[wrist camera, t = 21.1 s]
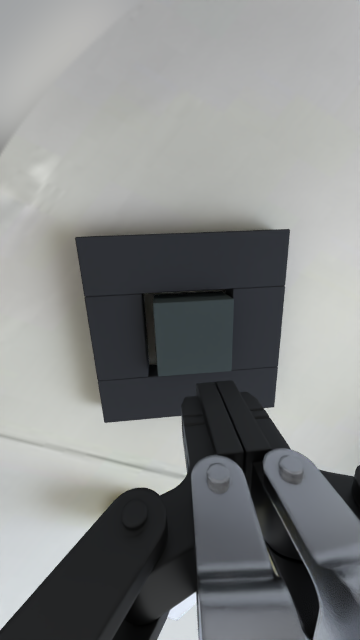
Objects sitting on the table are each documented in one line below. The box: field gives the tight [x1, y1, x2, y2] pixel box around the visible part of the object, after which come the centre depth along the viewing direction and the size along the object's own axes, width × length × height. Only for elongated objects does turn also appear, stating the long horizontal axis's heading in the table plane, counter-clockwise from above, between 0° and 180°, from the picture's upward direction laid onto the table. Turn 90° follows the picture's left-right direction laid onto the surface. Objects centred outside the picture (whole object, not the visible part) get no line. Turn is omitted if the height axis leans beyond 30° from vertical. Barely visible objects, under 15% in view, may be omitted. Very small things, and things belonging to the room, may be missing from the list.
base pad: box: [75, 229, 290, 423], centre depth 18 cm, size 14×14×2 cm
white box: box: [168, 592, 197, 620], centre depth 28 cm, size 8×8×1 cm
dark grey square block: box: [153, 291, 234, 376], centre depth 18 cm, size 5×5×3 cm
